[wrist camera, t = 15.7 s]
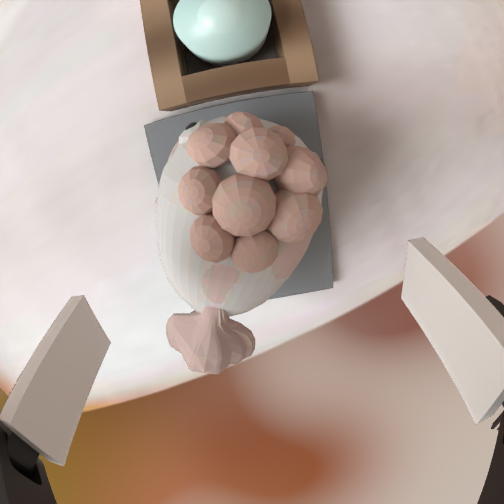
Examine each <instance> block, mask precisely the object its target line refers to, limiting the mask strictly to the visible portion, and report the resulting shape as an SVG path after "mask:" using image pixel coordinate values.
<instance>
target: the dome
mask: <svg viewBox="0 0 504 504" xmlns="http://www.w3.org/2000/svg"><path fill="white" fill-rule="evenodd" d="M270 22H271V6H270V4H269V1H268V0H180V1H179V2H178V4H177V6H176V8H175V11H174V15H173V25H174V29H175V32H176V34H177V36H178V37H179V39H180V40H181V41H182V42H183V43H184V44H185V45H186V46H187V48H188V49H189V50H190V51H191V52H192V53H193V54H194V55H195V56H196V57H197V58H199V59H200V60H202V61H204V62H207V63H210V64H214V65H222V66H223V65H234V64H238V63H241V62H243V61H246V60H248V59H249V58H251V57H252V56H254V55H255V54H256V53H257V52H258V51H259V50H260V49H261V47H262V46H263V44H264V42H265V40H266V37H267V33H268V29H269V26H270Z"/></svg>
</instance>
